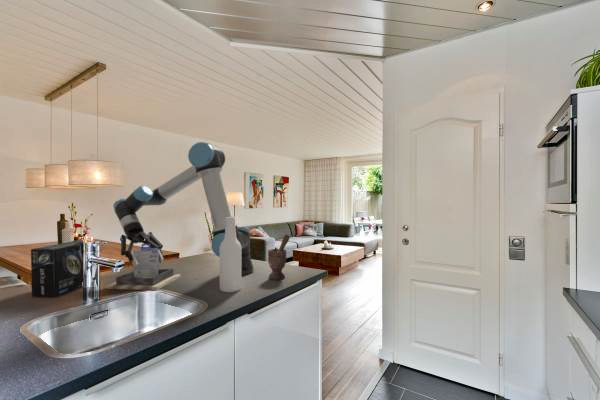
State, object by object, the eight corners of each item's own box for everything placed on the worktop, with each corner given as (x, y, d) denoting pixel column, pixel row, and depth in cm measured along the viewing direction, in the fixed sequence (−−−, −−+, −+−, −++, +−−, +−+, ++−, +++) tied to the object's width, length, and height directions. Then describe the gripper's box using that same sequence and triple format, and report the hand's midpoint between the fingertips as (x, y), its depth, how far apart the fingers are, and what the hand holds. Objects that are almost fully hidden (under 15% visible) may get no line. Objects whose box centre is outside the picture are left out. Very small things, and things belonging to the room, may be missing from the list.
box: (54, 298, 111) (54, 248, 111) (30, 297, 112) (30, 248, 112) (100, 281, 134) (100, 239, 134) (80, 280, 135) (80, 239, 135)
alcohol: (227, 285, 127) (227, 216, 127) (245, 287, 124) (245, 216, 124) (215, 291, 119) (214, 217, 119) (233, 293, 116) (233, 218, 116)
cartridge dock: (180, 276, 141) (180, 268, 141) (157, 289, 121) (157, 279, 121) (137, 275, 143) (137, 267, 143) (106, 288, 123) (106, 278, 123)
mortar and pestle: (276, 273, 147) (276, 233, 147) (292, 275, 144) (291, 234, 144) (264, 279, 137) (264, 236, 136) (281, 281, 133) (281, 237, 133)
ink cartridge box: (158, 273, 137) (158, 242, 137) (159, 276, 132) (158, 244, 132) (133, 276, 132) (133, 244, 132) (133, 279, 127) (133, 246, 127)
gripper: (153, 229, 150) (170, 263, 141) (102, 234, 131) (118, 274, 122) (158, 219, 147) (177, 254, 138) (107, 223, 128) (124, 263, 119)
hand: (149, 263), depth 130 cm, fingers closed on ink cartridge box, 11 cm apart
